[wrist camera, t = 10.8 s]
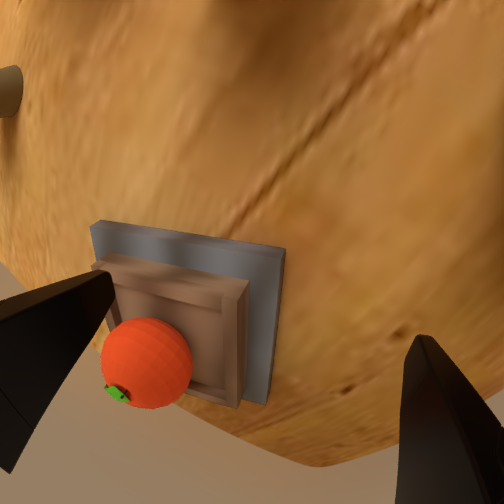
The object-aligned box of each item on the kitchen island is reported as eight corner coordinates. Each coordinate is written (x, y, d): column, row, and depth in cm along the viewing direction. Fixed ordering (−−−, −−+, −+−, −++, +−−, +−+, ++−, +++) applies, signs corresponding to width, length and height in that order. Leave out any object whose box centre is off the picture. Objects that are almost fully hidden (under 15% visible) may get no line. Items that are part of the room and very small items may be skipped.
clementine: (163, 371, 26) (125, 428, 20) (114, 316, 25) (64, 368, 18) (224, 355, 22) (186, 429, 16) (166, 286, 21) (106, 352, 15)
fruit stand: (285, 248, 20) (271, 280, 17) (269, 393, 28) (258, 425, 24) (100, 219, 24) (69, 238, 21) (132, 351, 31) (113, 374, 28)
